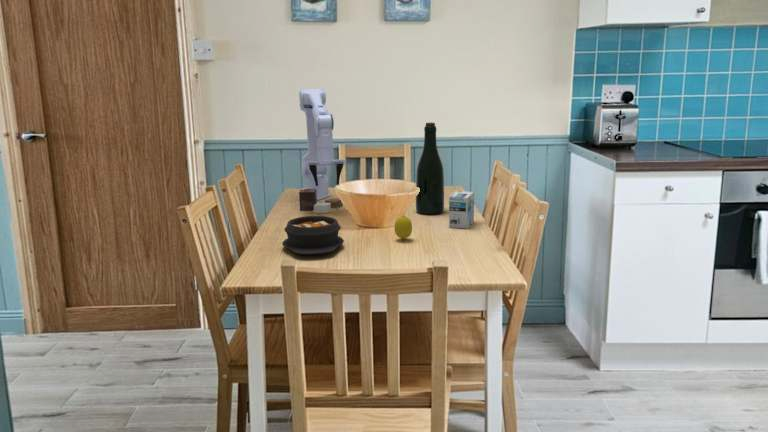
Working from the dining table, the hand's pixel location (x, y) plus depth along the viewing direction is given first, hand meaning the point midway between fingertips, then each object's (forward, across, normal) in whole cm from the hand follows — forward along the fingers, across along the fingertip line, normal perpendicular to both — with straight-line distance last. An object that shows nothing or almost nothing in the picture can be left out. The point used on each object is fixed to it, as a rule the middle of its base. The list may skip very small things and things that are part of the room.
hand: (327, 185), depth 240 cm
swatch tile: (+9, -4, +16) cm, 19 cm away
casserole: (+16, -3, -43) cm, 46 cm away
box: (+10, -8, +9) cm, 16 cm away
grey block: (+10, -3, +5) cm, 12 cm away
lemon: (+16, +25, -36) cm, 47 cm away
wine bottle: (+12, +37, 0) cm, 39 cm away
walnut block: (+10, +1, +12) cm, 15 cm away
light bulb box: (+15, +46, -19) cm, 52 cm away
